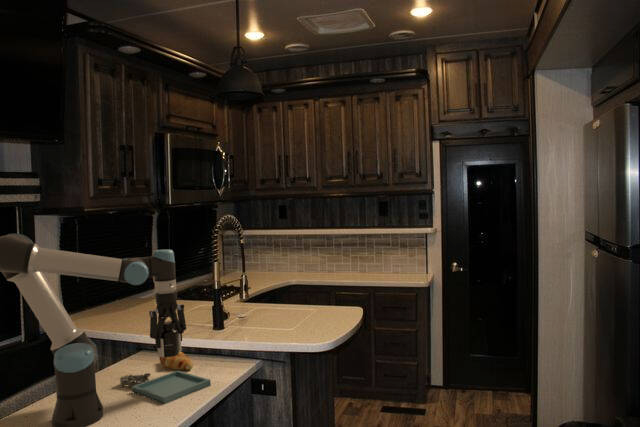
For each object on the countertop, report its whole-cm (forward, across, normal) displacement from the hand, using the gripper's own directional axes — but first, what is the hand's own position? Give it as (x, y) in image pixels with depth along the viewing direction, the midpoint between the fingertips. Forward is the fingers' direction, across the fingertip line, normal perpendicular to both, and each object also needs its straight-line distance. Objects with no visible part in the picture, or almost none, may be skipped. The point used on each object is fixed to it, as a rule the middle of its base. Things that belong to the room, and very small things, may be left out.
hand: (169, 353), depth 190 cm
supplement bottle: (+1, 0, 0) cm, 1 cm away
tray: (+13, 0, 0) cm, 13 cm away
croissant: (+14, +16, +21) cm, 30 cm away
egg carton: (+14, -5, +17) cm, 22 cm away
